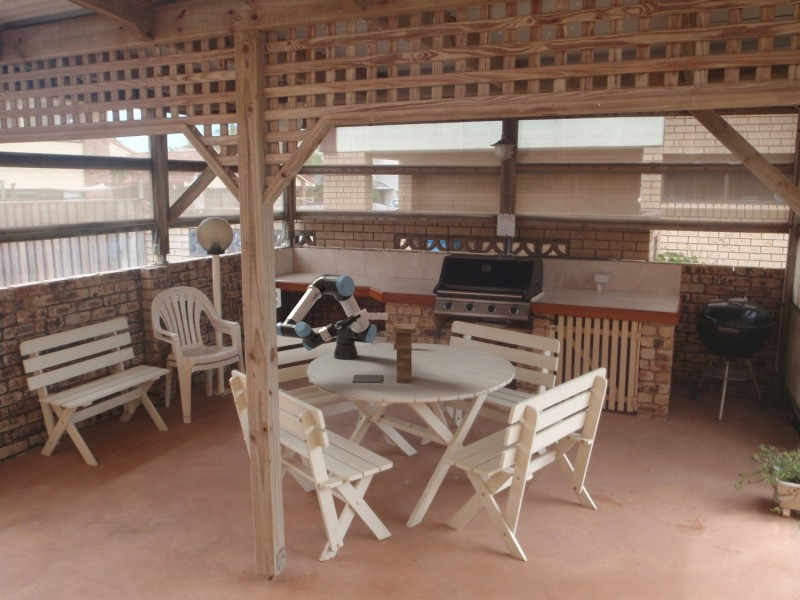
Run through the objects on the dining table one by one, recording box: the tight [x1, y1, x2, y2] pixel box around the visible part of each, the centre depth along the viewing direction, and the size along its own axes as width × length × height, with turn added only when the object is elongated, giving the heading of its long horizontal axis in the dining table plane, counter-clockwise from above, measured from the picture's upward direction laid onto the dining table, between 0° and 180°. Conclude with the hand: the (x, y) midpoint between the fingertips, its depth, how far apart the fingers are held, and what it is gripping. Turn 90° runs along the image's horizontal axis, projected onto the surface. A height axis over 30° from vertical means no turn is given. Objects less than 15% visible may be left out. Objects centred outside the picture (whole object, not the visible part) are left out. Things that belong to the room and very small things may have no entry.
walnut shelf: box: [392, 322, 416, 383], centre depth 379 cm, size 16×12×30 cm
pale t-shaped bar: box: [353, 311, 389, 321], centre depth 376 cm, size 6×19×3 cm, turn 89°
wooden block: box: [393, 320, 401, 350], centre depth 453 cm, size 4×11×18 cm, turn 81°
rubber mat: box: [352, 374, 384, 384], centre depth 381 cm, size 14×16×1 cm
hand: (366, 311), depth 375 cm, fingers closed on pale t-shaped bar, 4 cm apart
